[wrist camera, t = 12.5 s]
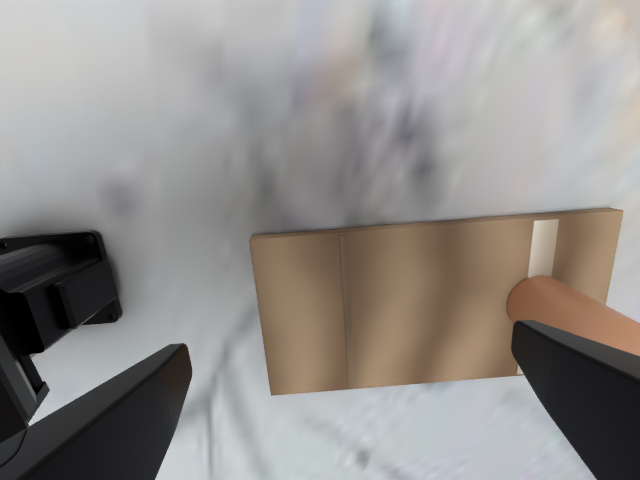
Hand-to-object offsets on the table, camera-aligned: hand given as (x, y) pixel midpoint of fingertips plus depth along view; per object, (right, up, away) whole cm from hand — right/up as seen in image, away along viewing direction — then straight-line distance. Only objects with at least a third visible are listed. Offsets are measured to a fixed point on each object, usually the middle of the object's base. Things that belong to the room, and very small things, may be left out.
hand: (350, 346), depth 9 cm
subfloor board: (+7, -2, +14) cm, 16 cm away
